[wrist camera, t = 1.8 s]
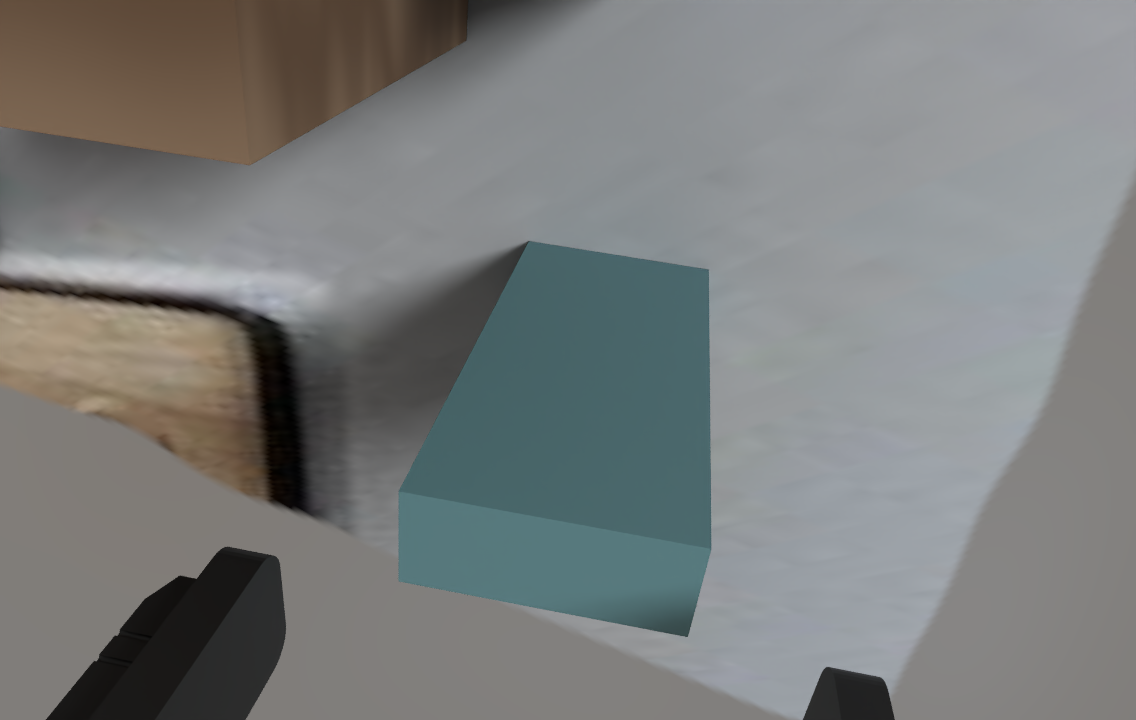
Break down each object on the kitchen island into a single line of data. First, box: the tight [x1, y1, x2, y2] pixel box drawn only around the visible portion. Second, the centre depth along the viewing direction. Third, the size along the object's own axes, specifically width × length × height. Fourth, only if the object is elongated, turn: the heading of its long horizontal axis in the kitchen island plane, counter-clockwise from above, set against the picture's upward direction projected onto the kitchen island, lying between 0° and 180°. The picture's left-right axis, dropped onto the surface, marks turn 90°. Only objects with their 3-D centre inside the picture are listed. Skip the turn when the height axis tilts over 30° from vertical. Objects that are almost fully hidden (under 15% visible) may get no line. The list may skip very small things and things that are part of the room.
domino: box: [0, 0, 468, 165], centre depth 15 cm, size 2×5×11 cm, turn 84°
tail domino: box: [399, 241, 711, 637], centre depth 18 cm, size 2×5×11 cm, turn 84°
